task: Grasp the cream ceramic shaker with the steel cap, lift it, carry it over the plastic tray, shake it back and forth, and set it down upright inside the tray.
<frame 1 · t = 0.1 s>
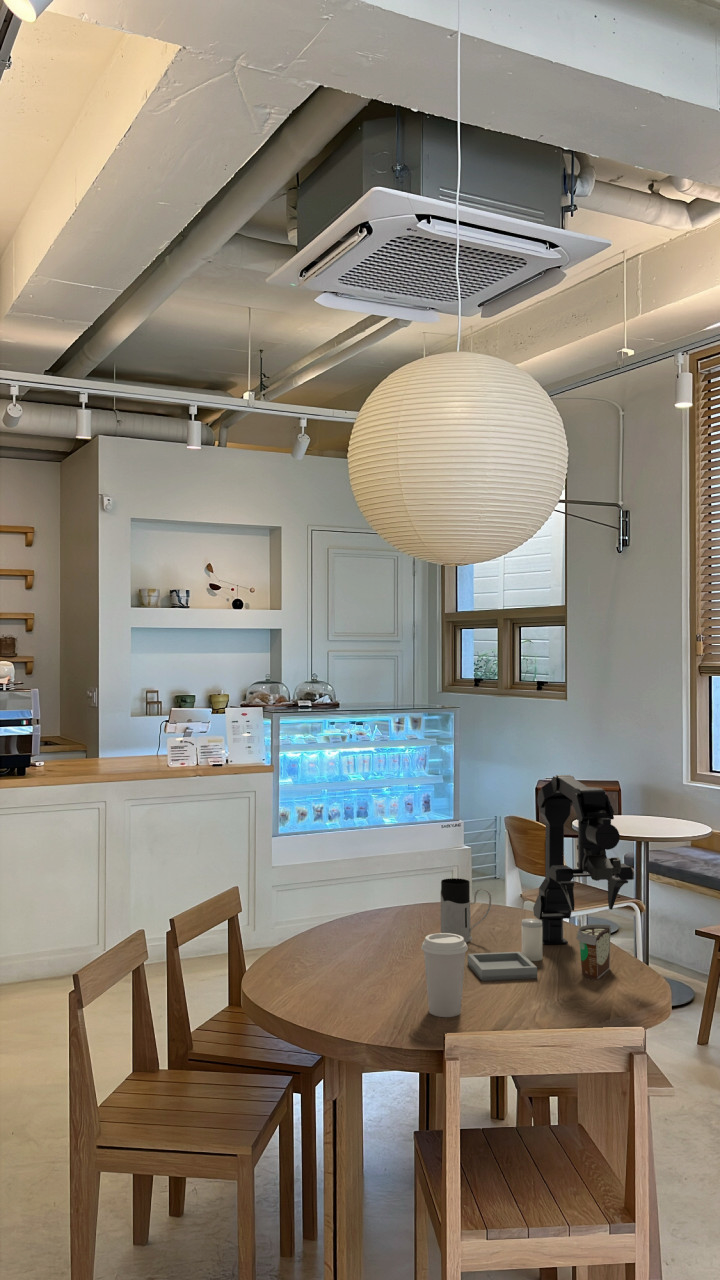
hand: (591, 909, 226), 15 cm above the table, fingers open, 9 cm apart
food container: (590, 972, 227), on the table
coffee cup: (444, 1012, 199), on the table
tray: (501, 971, 227), on the table
shaker: (532, 958, 238), on the table
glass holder: (465, 940, 255), on the table
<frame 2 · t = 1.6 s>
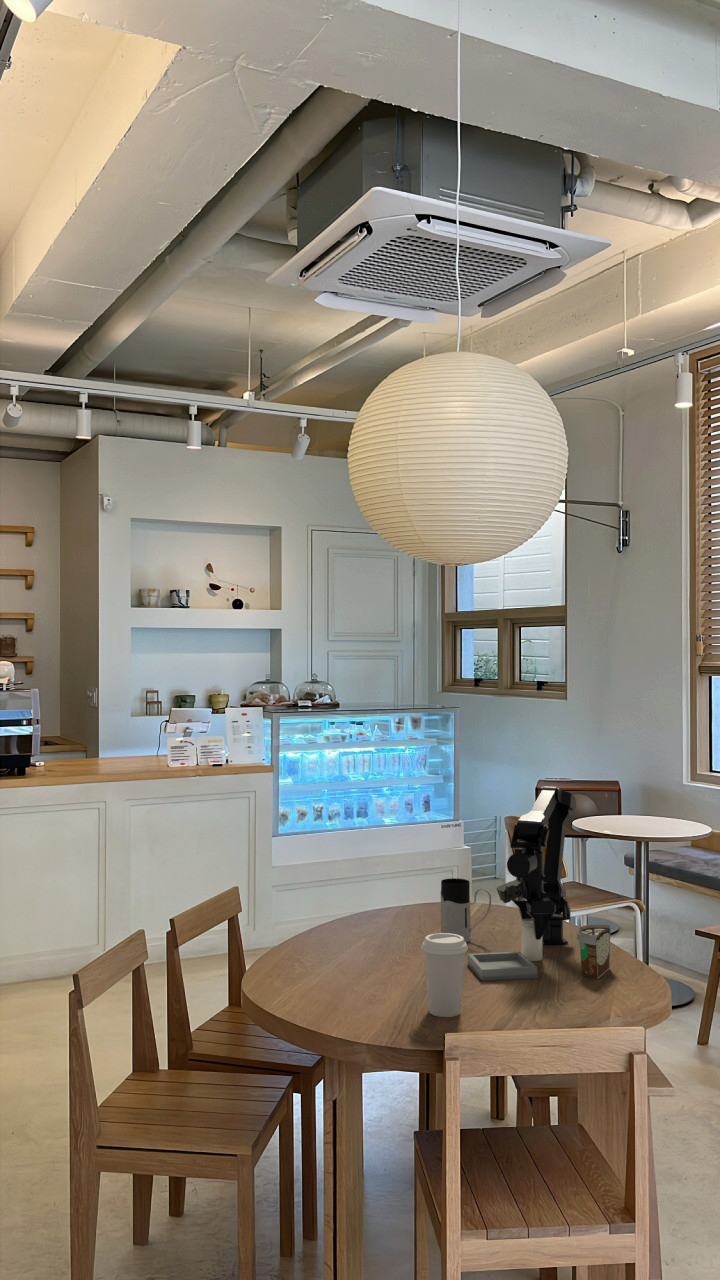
hand: (532, 934, 238), 6 cm above the table, fingers open, 9 cm apart
nothing on the table moved.
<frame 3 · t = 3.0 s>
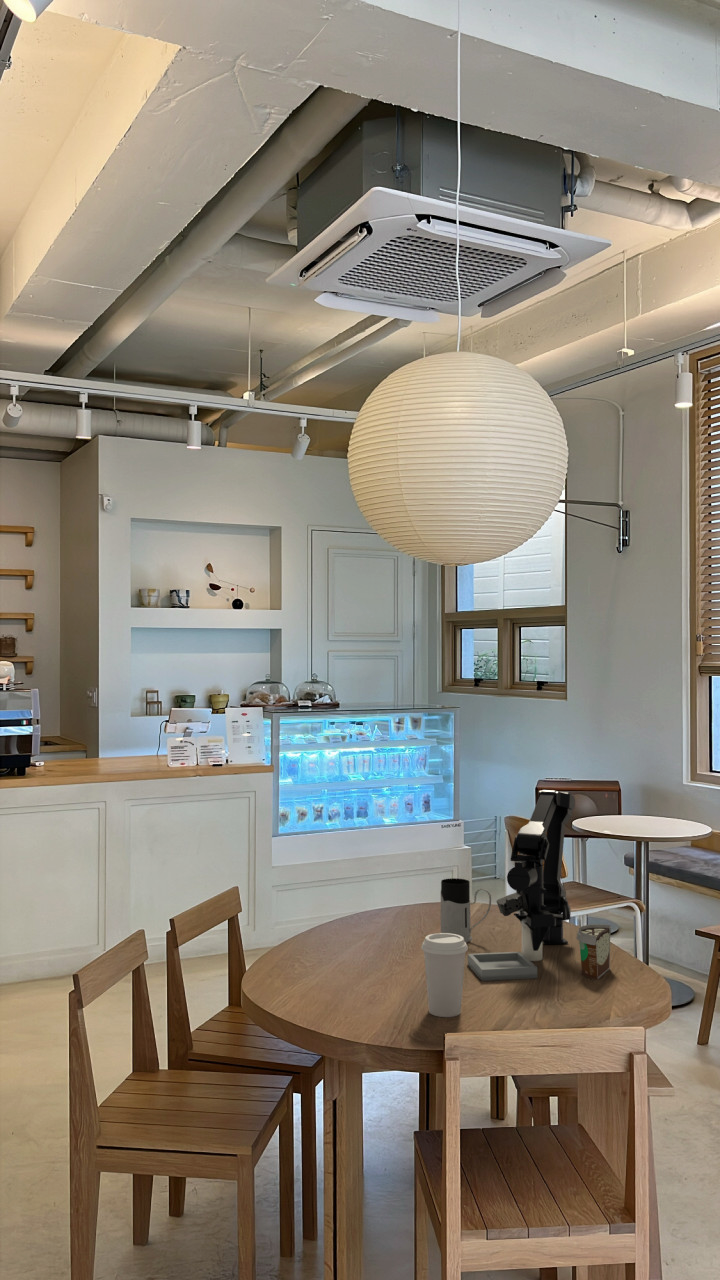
hand: (532, 947, 238), 3 cm above the table, fingers closed on shaker, 5 cm apart
shaker: (532, 958, 238), on the table, touching gripper
everything else where it was.
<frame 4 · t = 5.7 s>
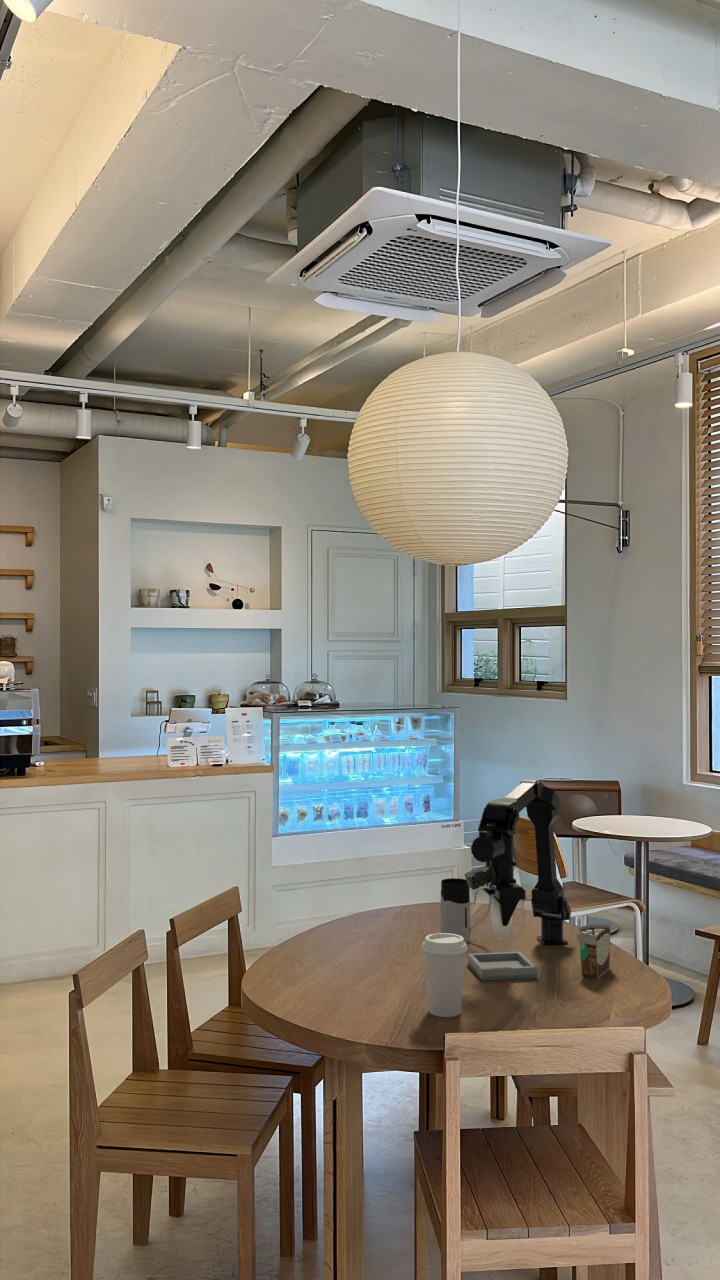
hand: (501, 923, 228), 11 cm above the table, fingers closed on shaker, 5 cm apart
shaker: (501, 933, 227), point 9 cm above the table, touching gripper
everything else where it was.
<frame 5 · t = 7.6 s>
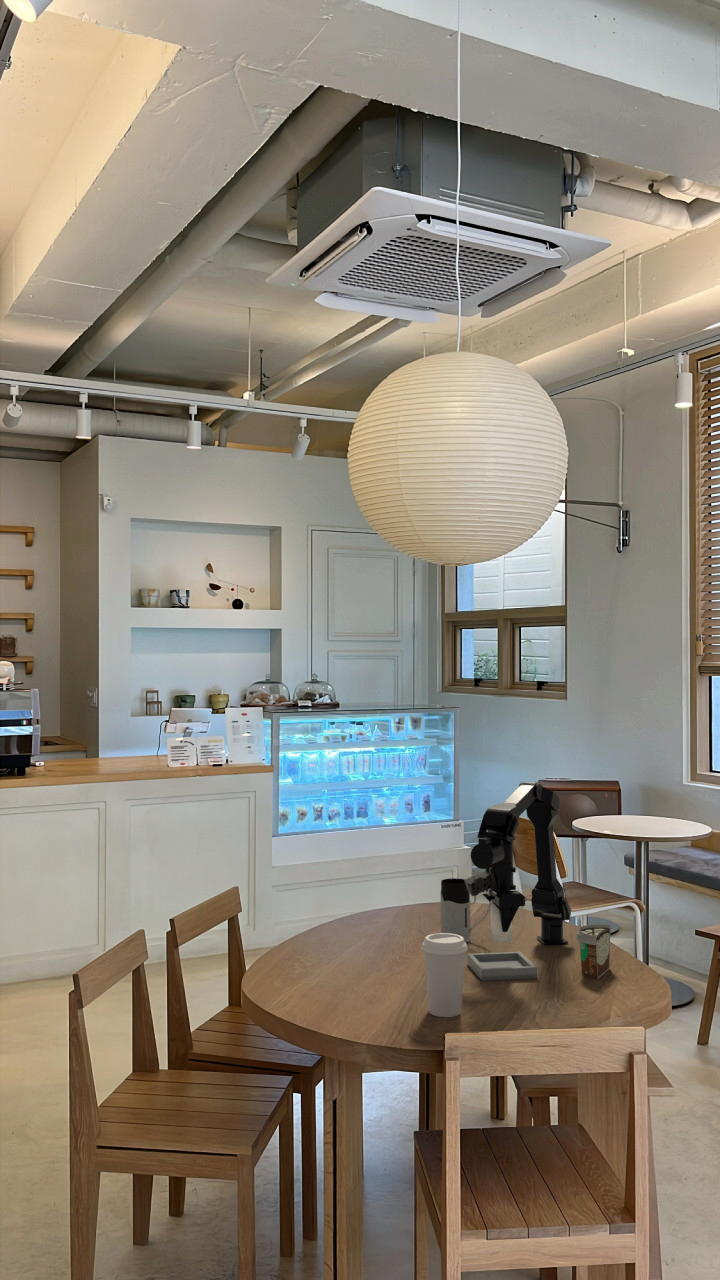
hand: (501, 929, 228), 10 cm above the table, fingers closed on shaker, 5 cm apart
shaker: (501, 939, 228), point 7 cm above the table, touching gripper
everything else where it was.
when the fingers open (5 cm above the table, at t = 8.7 s): shaker drops 1 cm, resting on tray.
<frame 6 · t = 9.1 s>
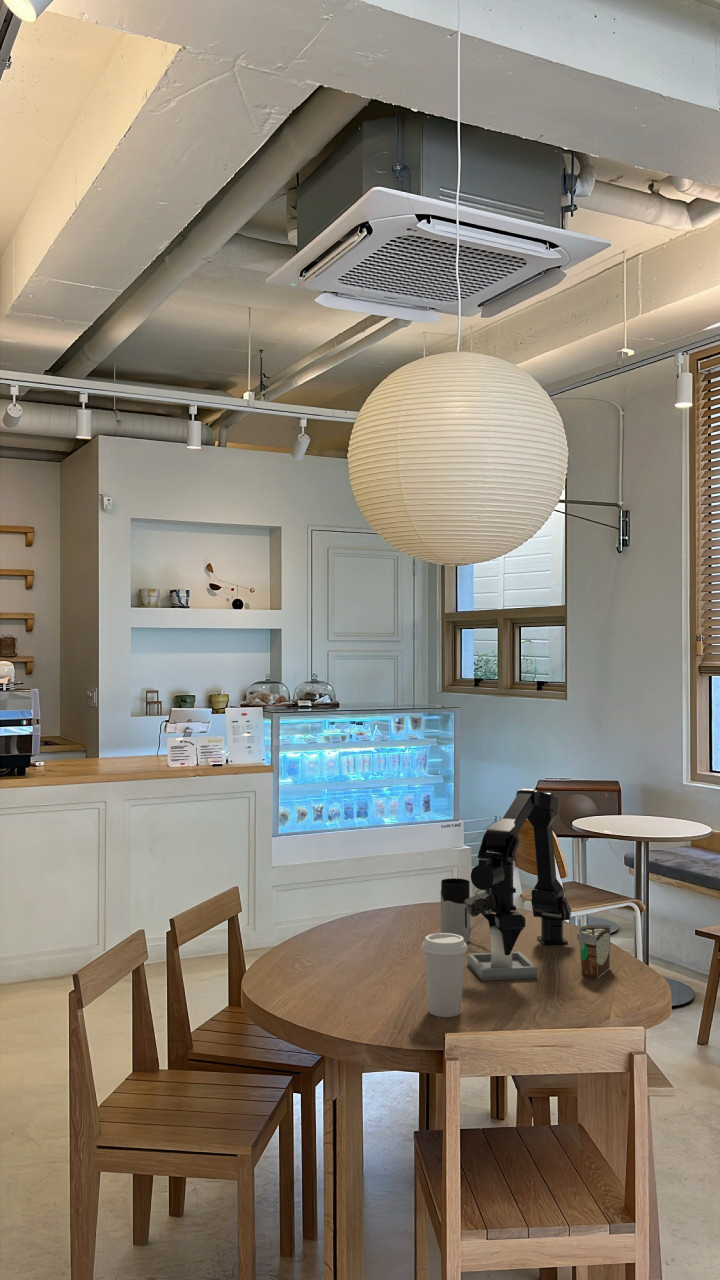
hand: (501, 949, 227), 5 cm above the table, fingers open, 9 cm apart
shaker: (501, 966, 227), point 1 cm above the table, touching tray
everything else where it was.
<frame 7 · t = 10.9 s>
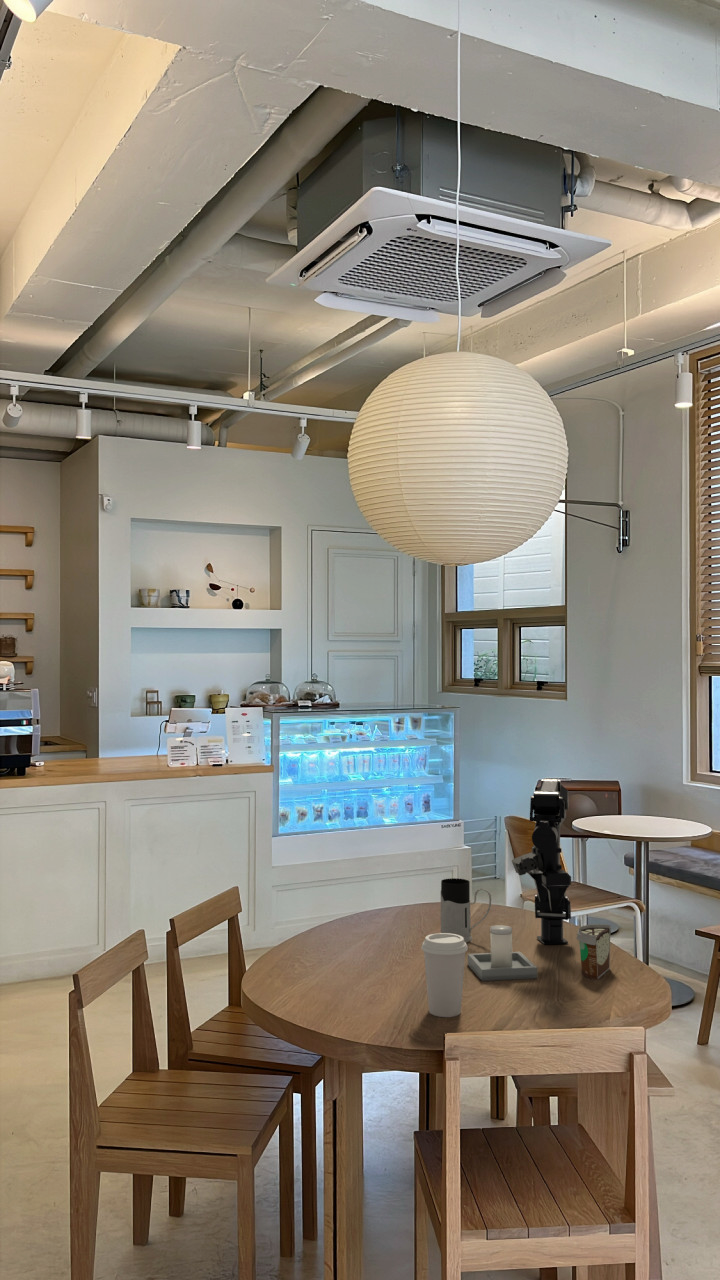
hand: (547, 906, 238), 13 cm above the table, fingers open, 9 cm apart
nothing on the table moved.
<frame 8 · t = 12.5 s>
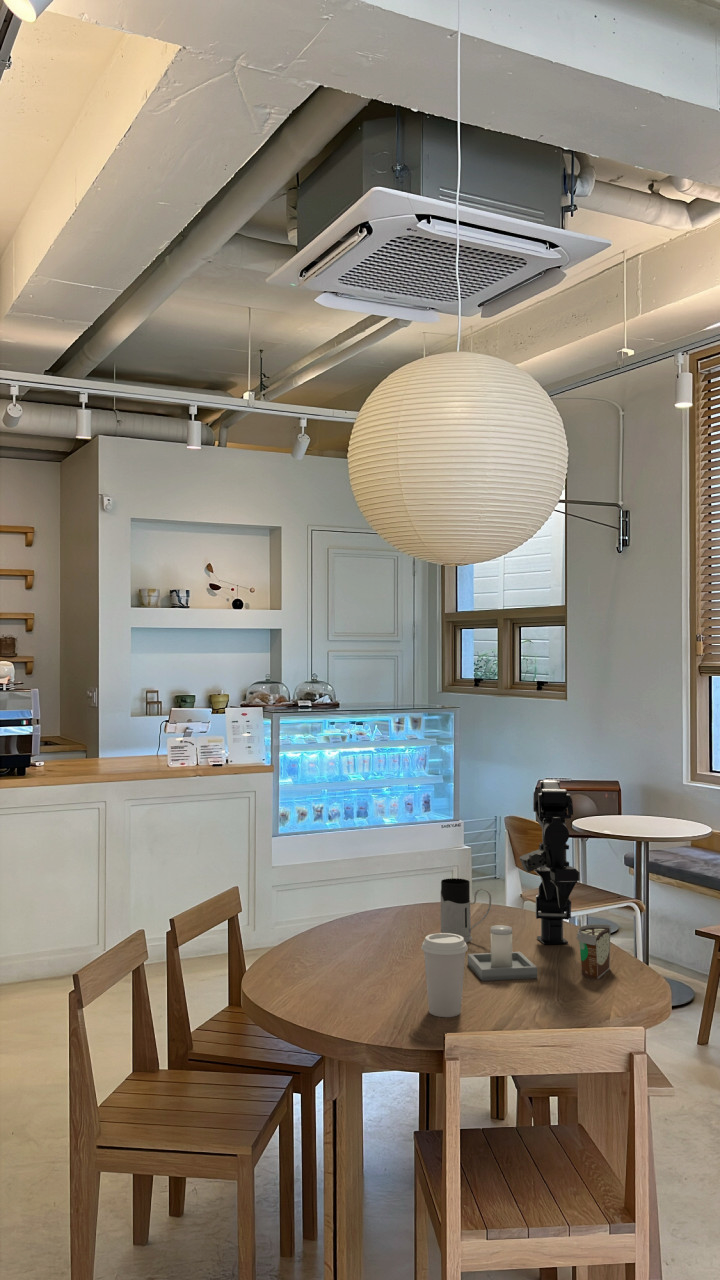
hand: (555, 903, 239), 13 cm above the table, fingers open, 9 cm apart
nothing on the table moved.
at the end: shaker inside the target area on the tray (0.0 cm from its centre), point 1.0 cm above the tray's base; shaker tilted 1°; the gripper is holding nothing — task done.
